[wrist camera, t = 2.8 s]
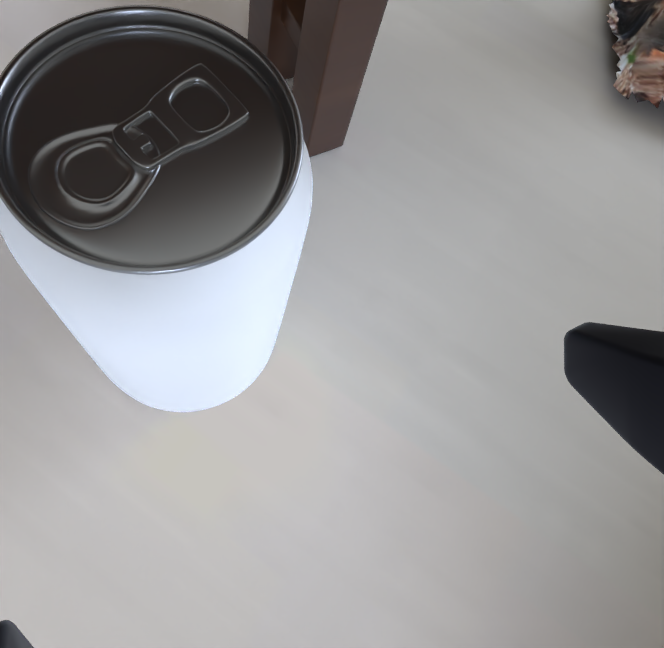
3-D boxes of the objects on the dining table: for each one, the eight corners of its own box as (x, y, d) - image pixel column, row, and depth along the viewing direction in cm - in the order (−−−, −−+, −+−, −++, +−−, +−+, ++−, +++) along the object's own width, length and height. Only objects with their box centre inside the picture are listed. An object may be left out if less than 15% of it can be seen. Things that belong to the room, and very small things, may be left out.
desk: (386, 217, 25) (713, -405, 8) (-87, 408, 20) (-1655, -179, 3) (286, 40, 27) (390, -762, 10) (-169, 175, 22) (-1447, -958, 5)
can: (53, 315, 22) (-128, 95, 11) (199, 212, 24) (176, -64, 13) (173, 454, 21) (115, 375, 10) (312, 335, 23) (395, 158, 12)
